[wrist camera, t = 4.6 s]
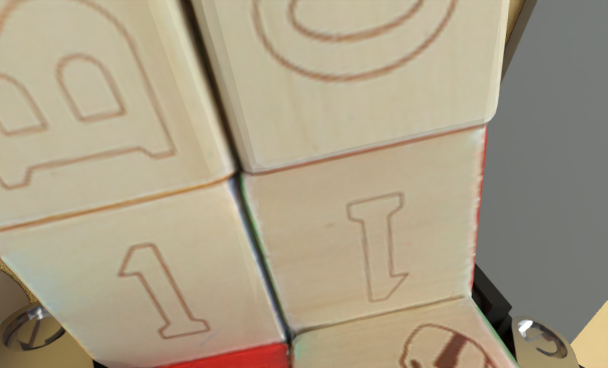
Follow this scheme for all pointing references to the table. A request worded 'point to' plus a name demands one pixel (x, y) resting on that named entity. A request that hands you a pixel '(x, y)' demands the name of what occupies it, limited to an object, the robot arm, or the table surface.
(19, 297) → the coffee cup
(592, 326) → the table surface
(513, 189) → the charcoal mat
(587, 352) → the table surface
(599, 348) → the table surface
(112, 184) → the stack of blocks
